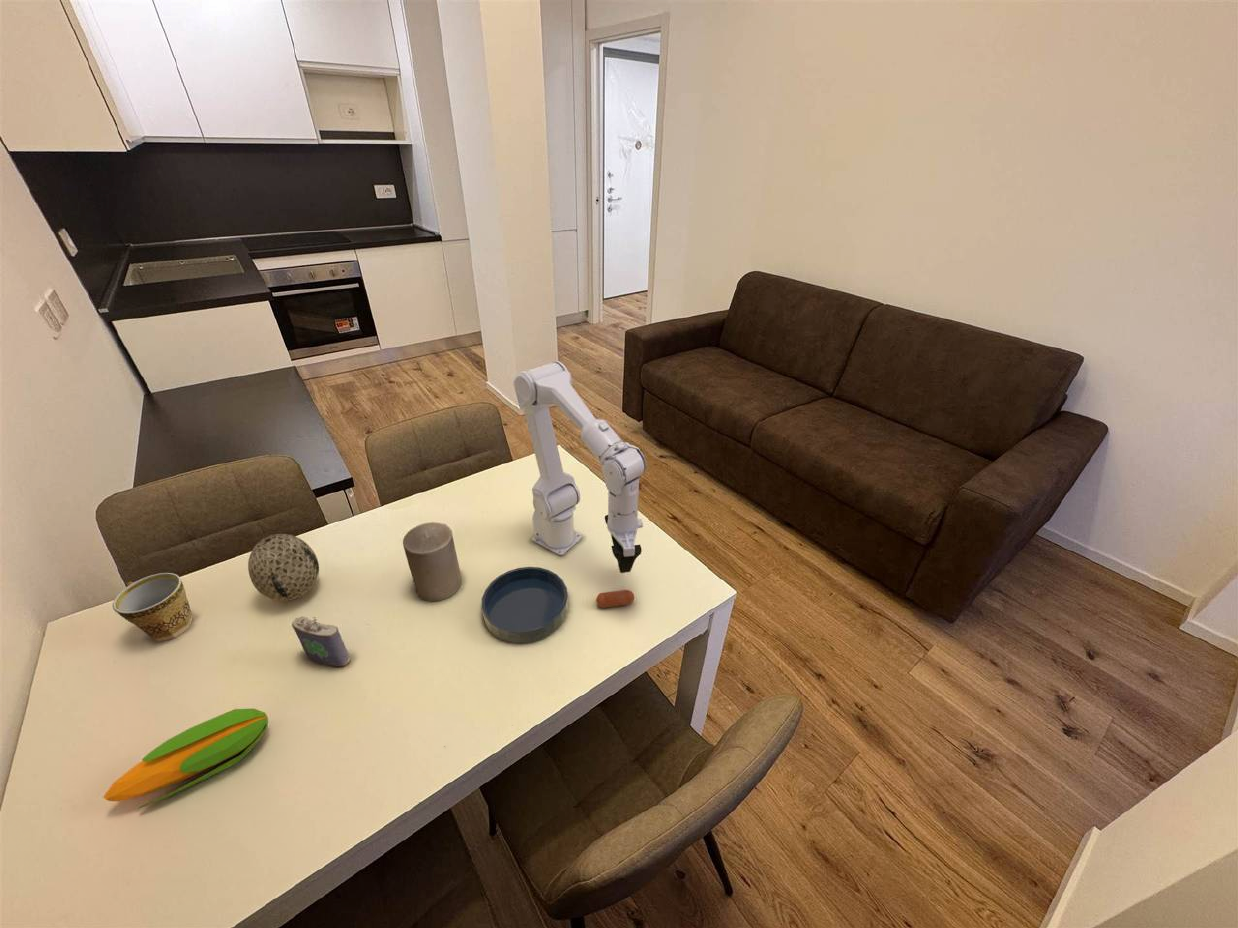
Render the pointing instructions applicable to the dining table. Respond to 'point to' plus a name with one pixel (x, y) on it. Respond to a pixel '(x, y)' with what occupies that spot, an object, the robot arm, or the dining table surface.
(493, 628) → the bowl
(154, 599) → the ceramic cup
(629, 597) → the sausage
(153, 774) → the corn
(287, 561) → the decorative egg
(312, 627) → the flask
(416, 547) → the pillar candle
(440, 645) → the dining table surface
